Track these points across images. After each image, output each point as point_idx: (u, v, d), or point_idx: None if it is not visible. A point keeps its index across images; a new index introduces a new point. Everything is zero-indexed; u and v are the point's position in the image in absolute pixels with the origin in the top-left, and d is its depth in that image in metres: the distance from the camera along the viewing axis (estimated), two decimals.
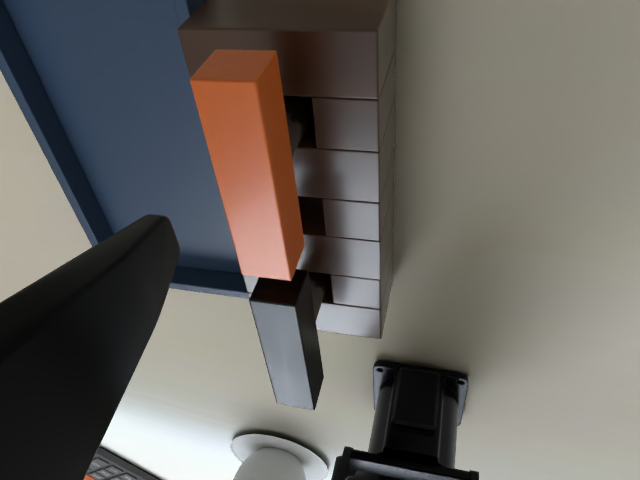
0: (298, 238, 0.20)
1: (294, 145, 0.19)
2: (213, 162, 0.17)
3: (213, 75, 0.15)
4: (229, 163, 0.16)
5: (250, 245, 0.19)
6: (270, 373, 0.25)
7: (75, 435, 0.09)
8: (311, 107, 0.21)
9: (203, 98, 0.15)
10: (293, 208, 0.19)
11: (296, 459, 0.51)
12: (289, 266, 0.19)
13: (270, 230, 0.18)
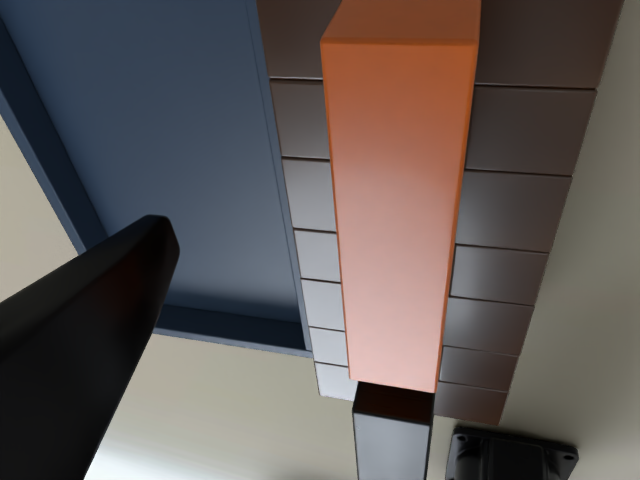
0: None
1: None
2: (338, 207, 0.09)
3: (372, 32, 0.07)
4: (370, 208, 0.09)
5: (376, 341, 0.11)
6: None
7: (75, 435, 0.09)
8: None
9: (344, 82, 0.07)
10: None
11: None
12: (438, 373, 0.11)
13: (421, 321, 0.10)
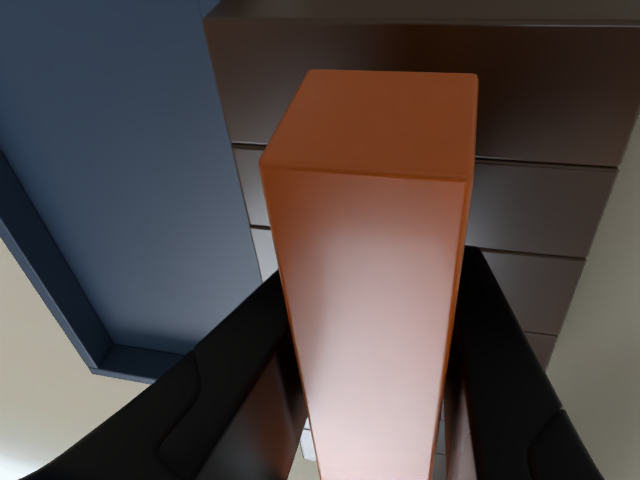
0: None
1: None
2: (297, 342, 0.07)
3: (329, 152, 0.05)
4: (337, 346, 0.07)
5: (353, 469, 0.09)
6: None
7: (274, 477, 0.08)
8: None
9: (293, 212, 0.05)
10: None
11: None
12: None
13: (406, 457, 0.08)
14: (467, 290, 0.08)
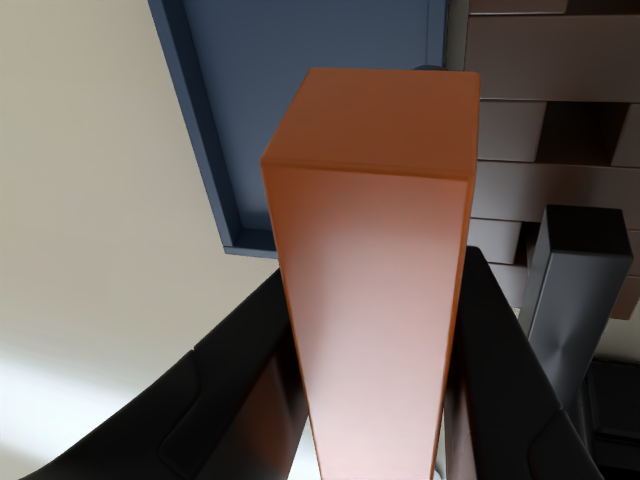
0: None
1: None
2: (298, 341, 0.07)
3: (331, 150, 0.05)
4: (338, 346, 0.07)
5: (354, 469, 0.09)
6: None
7: (274, 477, 0.08)
8: None
9: (294, 210, 0.05)
10: None
11: None
12: None
13: (407, 457, 0.08)
14: (467, 290, 0.08)
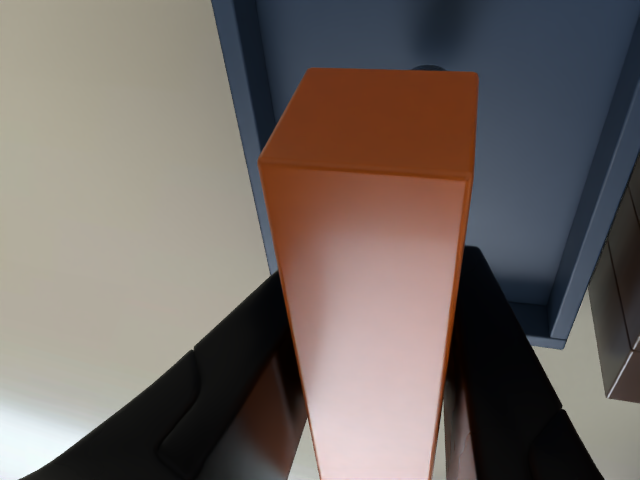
0: None
1: None
2: (296, 341, 0.07)
3: (329, 150, 0.05)
4: (336, 346, 0.07)
5: (352, 469, 0.09)
6: None
7: (274, 477, 0.08)
8: None
9: (292, 210, 0.05)
10: None
11: None
12: None
13: (405, 457, 0.08)
14: (467, 290, 0.08)
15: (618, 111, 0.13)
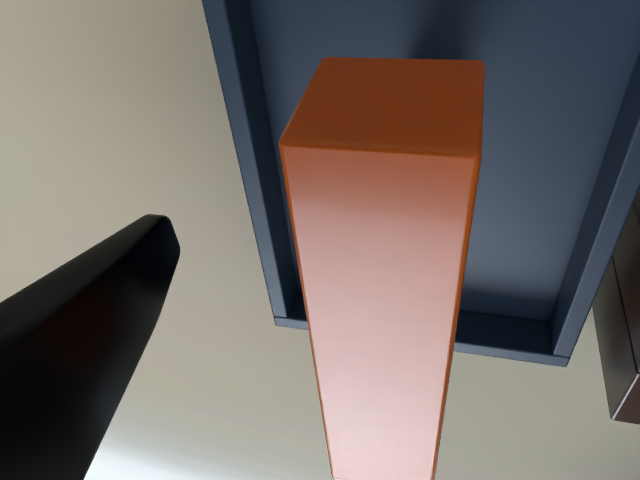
0: None
1: None
2: (310, 318, 0.07)
3: (345, 132, 0.05)
4: (349, 321, 0.07)
5: (361, 447, 0.09)
6: None
7: (75, 435, 0.09)
8: None
9: (310, 189, 0.06)
10: None
11: None
12: None
13: (413, 433, 0.09)
14: None
15: (624, 128, 0.13)
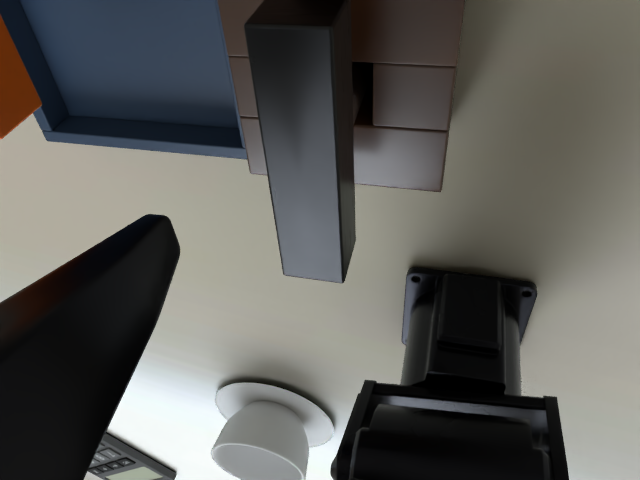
0: (16, 86, 0.15)
1: None
2: None
3: None
4: None
5: None
6: (275, 210, 0.15)
7: (75, 435, 0.09)
8: None
9: None
10: None
11: (295, 415, 0.41)
12: None
13: None
14: None
15: None
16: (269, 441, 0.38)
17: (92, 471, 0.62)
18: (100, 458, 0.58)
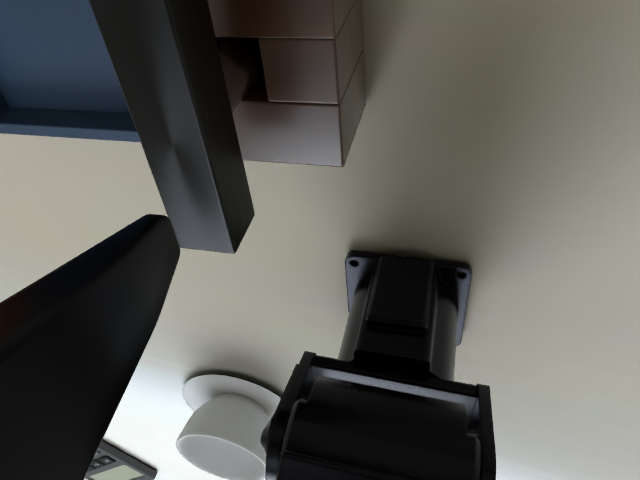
0: None
1: None
2: None
3: None
4: None
5: None
6: (156, 180, 0.15)
7: (75, 435, 0.09)
8: None
9: None
10: None
11: (260, 407, 0.42)
12: None
13: None
14: None
15: None
16: (230, 431, 0.38)
17: None
18: None
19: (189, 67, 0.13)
